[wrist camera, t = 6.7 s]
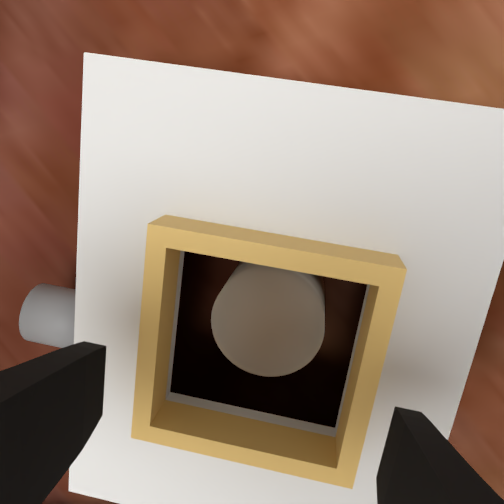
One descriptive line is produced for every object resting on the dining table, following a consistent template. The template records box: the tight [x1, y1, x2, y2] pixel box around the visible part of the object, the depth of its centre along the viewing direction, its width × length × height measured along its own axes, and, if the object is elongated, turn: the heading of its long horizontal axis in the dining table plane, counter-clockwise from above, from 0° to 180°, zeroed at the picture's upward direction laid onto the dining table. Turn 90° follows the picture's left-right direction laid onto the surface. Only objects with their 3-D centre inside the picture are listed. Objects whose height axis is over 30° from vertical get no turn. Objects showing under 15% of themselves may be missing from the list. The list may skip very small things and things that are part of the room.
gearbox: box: [19, 52, 504, 504], centre depth 17 cm, size 16×16×6 cm
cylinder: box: [211, 261, 325, 377], centre depth 18 cm, size 4×4×4 cm
